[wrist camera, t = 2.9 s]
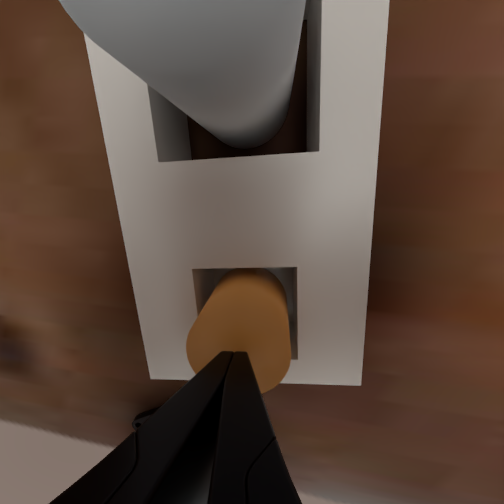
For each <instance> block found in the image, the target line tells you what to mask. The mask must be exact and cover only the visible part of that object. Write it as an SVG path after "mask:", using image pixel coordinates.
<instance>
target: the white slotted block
mask: <svg viewBox="0 0 504 504" xmlns="http://www.w3.org/2000/svg"><path fill="white" fill-rule="evenodd" d="M388 14H389V0H306V4H305V10H304V16H303V20H307V152H304V153H289V154H275V155H260V156H245V157H231V158H216V159H202V160H192V157H191V148H190V139H189V129H188V120H187V114H186V113H184V112H183V111H182V110H180V109H179V108H178V107H177V106H175V105H174V104H173V103H171V102H170V101H169V100H168V99H166V98H165V97H164V96H162V95H161V94H160V93H158V92H157V91H156V90H155V89H153V88H152V87H151V86H149V85H148V84H147V83H146V82H144V81H143V80H142V79H140V78H139V77H138V76H137V75H135V74H134V73H133V72H131V71H130V70H129V69H128V68H126V67H125V66H124V65H122V64H121V63H120V62H119V61H117V60H116V59H115V58H113V57H112V56H111V55H110V54H108V53H107V52H106V51H104V50H103V49H102V48H101V47H99V46H98V45H97V44H96V43H94V42H93V41H92V40H91V39H90V38H89V37H88V36H87V35H86V34H85V33H84V36H85V41H86V46H87V52H88V57H89V62H90V67H91V72H92V78H93V83H94V88H95V93H96V98H97V104H98V109H99V114H100V119H101V124H102V130H103V135H104V140H105V145H106V150H107V156H108V161H109V166H110V171H111V176H112V181H113V187H114V192H115V197H116V202H117V207H118V213H119V218H120V223H121V228H122V233H123V239H124V244H125V249H126V254H127V259H128V265H129V270H130V275H131V280H132V285H133V291H134V296H135V301H136V306H137V311H138V317H139V322H140V327H141V332H142V337H143V343H144V348H145V353H146V358H147V363H148V369H149V374H150V379H168V380H190V379H191V378H193V377H194V376H195V375H196V374H195V372H194V371H193V369H192V368H191V366H190V364H189V361H188V358H187V353H186V340H187V336H188V333H189V331H190V329H191V327H192V326H193V324H194V322H195V321H196V319H197V317H198V316H199V314H200V312H201V311H202V309H203V307H204V306H205V304H206V302H207V301H208V299H209V297H210V296H211V294H212V292H213V291H214V289H215V287H216V286H217V284H218V282H219V281H220V279H221V278H222V277H223V276H224V275H225V274H226V273H227V272H229V271H230V270H232V269H235V268H263V269H265V270H268V271H269V272H271V273H272V274H274V275H275V276H276V277H277V278H278V279H279V281H280V282H281V283H282V285H283V287H284V289H285V292H286V297H287V309H288V321H289V333H290V345H291V363H290V367H289V369H288V372H287V374H286V375H285V377H284V378H283V380H282V381H281V382H280V383H294V384H325V385H357V386H361V378H362V365H363V351H364V338H365V324H366V311H367V297H368V284H369V270H370V257H371V243H372V230H373V216H374V203H375V189H376V176H377V162H378V149H379V135H380V122H381V108H382V95H383V81H384V68H385V54H386V41H387V27H388Z"/></svg>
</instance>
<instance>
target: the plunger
mask: <svg viewBox="0 0 504 504" xmlns="http://www.w3.org/2000/svg"><path fill="white" fill-rule="evenodd" d="M221 351H233V352H235V351H246V352H247V353H248V356H249V359H250V362H251V365H252V368H253V371H254V374H255V377H256V379H257V382H258V385H259V388H260V391H261V394H262V393H265V392H267V391H269V390H271V389H273V388H274V387H275V386H277V385H278V384H279V383H280V382H281V381H282V380H283V378H284V377H285V375H286V374H287V372H288V369H289V367H290V363H291V345H290V333H289V321H288V309H287V297H286V292H285V289H284V287H283V285H282V283H281V282H280V281H279V279H278V278H277V277H276V276H275V275H274V274H272V273H271V272H269V271H268V270H265V269H263V268H235V269H232V270H230V271H229V272H227V273H226V274H225V275H224V276H223V277H222V278H221V279H220V281H219V282H218V284H217V286H216V287H215V289H214V291H213V292H212V294H211V296H210V297H209V299H208V301H207V302H206V304H205V306H204V307H203V309H202V311H201V312H200V314H199V316H198V317H197V319H196V321H195V322H194V324H193V326H192V327H191V329H190V331H189V333H188V336H187V340H186V353H187V358H188V361H189V364H190V366H191V368H192V369H193V371H194V372H195V374H197V373H198V372H199V371H200V370H201V369H202V368H203V367H205V366H206V365H207V364H208V363H209V362H210V361H211V360H212V359H213V358H214V357H215V356H216V355H218V354H219V353H220V352H221Z"/></svg>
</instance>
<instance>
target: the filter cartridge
mask: <svg viewBox="0 0 504 504" xmlns="http://www.w3.org/2000/svg"><path fill="white" fill-rule="evenodd" d="M59 1H60V3H61V4H62V6H63V7H64V9H65V11H66V12H67V13H68V14H69V16H70V17H71V18H72V19H73V21H74V22H75V23H76V25H77V26H78V27H79V28H80V29H81V30H82V31H83V32H84V33H85V34H86V35H87V36H88V37H89V38H90V39H91V40H92V41H93V42H94V43H96V44H97V45H98V46H99V47H101V48H102V49H103V50H104V51H106V52H107V53H108V54H110V55H111V56H112V57H113V58H115V59H116V60H117V61H119V62H120V63H121V64H122V65H124V66H125V67H126V68H128V69H129V70H130V71H131V72H133V73H134V74H135V75H137V76H138V77H139V78H140V79H142V80H143V81H144V82H146V83H147V84H148V85H149V86H151V87H152V88H153V89H155V90H156V91H157V92H158V93H160V94H161V95H162V96H164V97H165V98H166V99H168V100H169V101H170V102H171V103H173V104H174V105H175V106H177V107H178V108H179V109H180V110H182V111H183V112H184V113H186V114H187V115H188V116H189V117H191V118H192V119H193V120H195V121H196V122H197V123H198V124H200V125H201V126H202V127H204V128H205V129H206V130H207V131H209V132H210V133H211V134H213V135H214V136H215V137H216V138H218V139H219V140H220V141H222V142H223V143H225V144H227V145H229V146H231V147H234V148H239V149H250V148H255V147H258V146H261V145H263V144H265V143H266V142H268V141H269V140H271V139H272V138H273V137H274V136H275V135H276V134H277V133H278V131H279V130H280V129H281V127H282V125H283V124H284V122H285V119H286V117H287V114H288V110H289V104H290V98H291V92H292V85H293V79H294V73H295V66H296V60H297V54H298V48H299V41H300V35H301V29H302V22H303V16H304V10H305V4H306V0H59Z"/></svg>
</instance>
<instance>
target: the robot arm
mask: <svg viewBox="0 0 504 504" xmlns="http://www.w3.org/2000/svg"><path fill="white" fill-rule="evenodd" d="M132 426H133V428H134V429H135V430H136V432H133V433H132V434H130V435H129V436H128V437H127V438H126V439H125V440H124V441H123V442H122V443H121V444H120V445H118V446H117V447H116V448H115V449H114V450H113V451H112V452H111V453H109V454H108V455H107V456H106V457H105V458H104V459H103V460H102V461H100V462H99V463H98V464H97V465H96V466H94V467H93V468H92V469H91V470H90V471H88V472H87V473H86V474H85V475H84V476H82V477H81V478H80V479H79V480H78V481H77V482H75V483H74V484H73V485H71V486H70V487H69V488H68V489H66V490H65V491H64V492H63V493H61V494H60V495H59V496H58V497H56V498H55V499H54V500H53V501H51V502H50V503H49V504H302V503H301V500H300V498H299V496H298V493H297V491H296V489H295V487H294V484H293V482H292V480H291V477H290V475H289V472H288V469H287V467H286V464H285V461H284V459H283V456H282V453H281V450H280V447H279V444H278V441H277V440H276V436H275V433H274V430H273V427H272V424H271V421H270V418H269V415H268V412H267V409H266V406H265V403H264V400H263V397H262V394H261V391H260V388H259V385H258V382H257V379H256V377H255V374H254V371H253V368H252V365H251V362H250V359H249V356H248V353H247V352H246V351H235V352H233V351H221V352H220V353H219V354H218V355H216V356H215V357H214V358H213V359H212V360H211V361H210V362H209V363H208V364H207V365H206V366H205V367H203V368H202V369H201V370H200V371H199V372H198V373H197V374H196V375H195V376H194V377H193V378H191V379H190V380H189V381H188V382H187V383H186V384H185V385H184V386H183V387H182V388H181V389H180V390H178V391H177V392H176V393H175V394H174V395H173V396H172V397H171V398H170V399H169V400H168V401H166V402H165V403H164V404H163V405H162V406H161V407H160V408H157V409H154V410H151V411H149V412H146V413H143V414H140V415H138V416H136V417H135V419H134V421H133V422H132Z"/></svg>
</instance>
